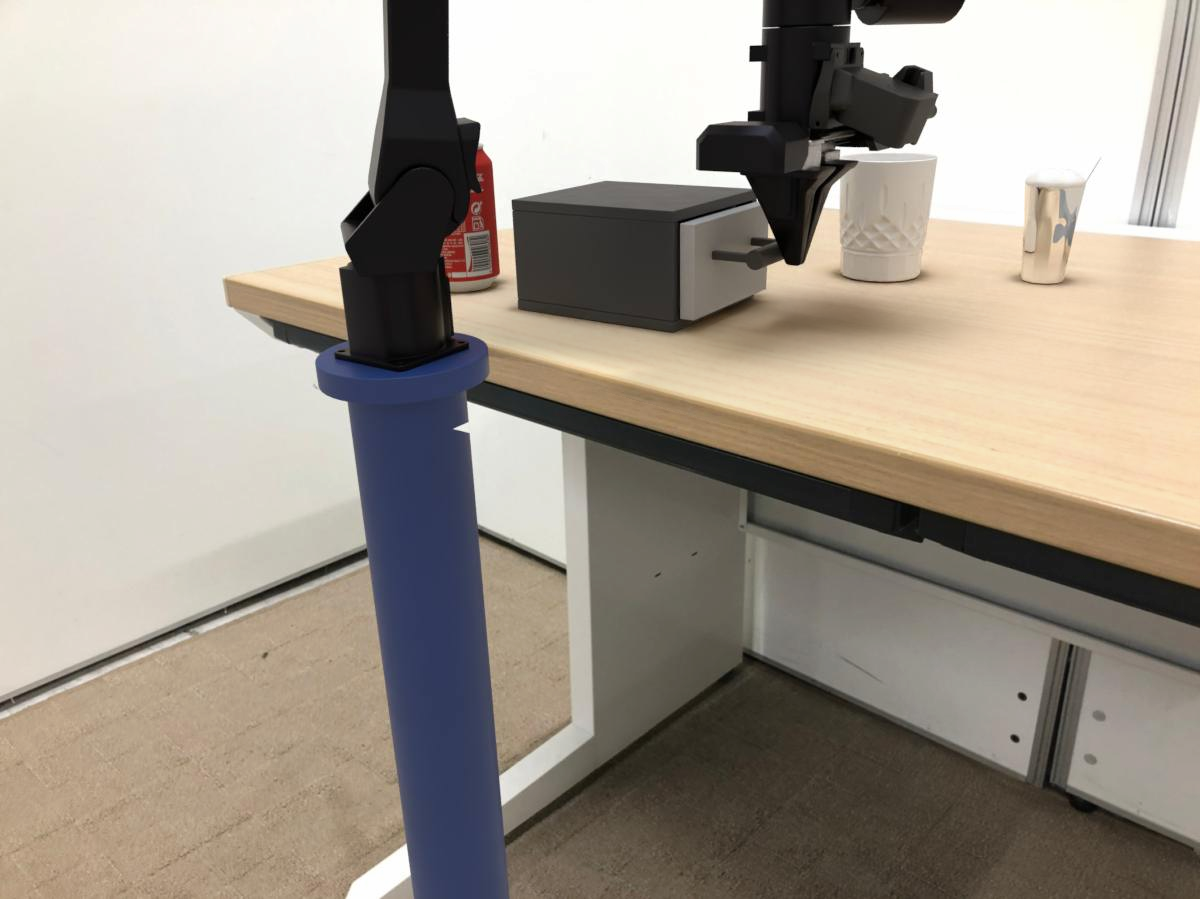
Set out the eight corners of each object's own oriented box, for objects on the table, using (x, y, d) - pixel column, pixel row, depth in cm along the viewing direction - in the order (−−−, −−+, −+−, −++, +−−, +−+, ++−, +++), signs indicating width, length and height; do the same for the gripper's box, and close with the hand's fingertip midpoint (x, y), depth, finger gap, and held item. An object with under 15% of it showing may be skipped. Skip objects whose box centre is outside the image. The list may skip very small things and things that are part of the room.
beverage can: (492, 275, 91) (482, 140, 87) (507, 289, 86) (498, 145, 81) (424, 282, 89) (410, 144, 85) (435, 296, 84) (421, 150, 79)
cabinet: (754, 296, 80) (757, 188, 77) (673, 332, 71) (673, 211, 68) (608, 279, 88) (605, 180, 85) (517, 309, 79) (510, 199, 76)
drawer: (815, 294, 77) (820, 205, 74) (746, 328, 68) (749, 228, 65) (626, 273, 86) (625, 193, 84) (546, 300, 78) (541, 212, 75)
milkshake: (1077, 288, 80) (1097, 160, 76) (1007, 283, 82) (1023, 158, 78) (1085, 277, 83) (1105, 154, 79) (1018, 272, 86) (1033, 153, 82)
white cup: (942, 272, 87) (953, 154, 83) (899, 288, 82) (909, 163, 78) (861, 261, 92) (869, 150, 88) (816, 276, 87) (822, 158, 83)
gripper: (870, 20, 53) (850, 304, 59) (974, 23, 67) (950, 252, 73) (692, 28, 59) (690, 285, 65) (821, 29, 73) (810, 240, 79)
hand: (795, 264), depth 70 cm, fingers closed, pressing on drawer
